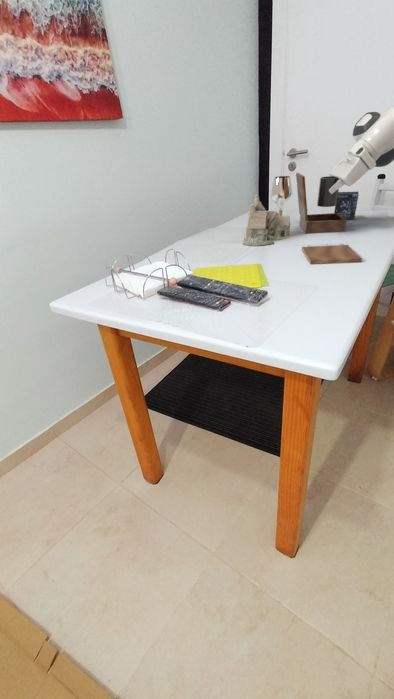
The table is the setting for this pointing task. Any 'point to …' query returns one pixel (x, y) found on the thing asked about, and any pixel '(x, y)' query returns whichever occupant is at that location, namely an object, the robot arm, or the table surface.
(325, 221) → the bread box
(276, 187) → the wineglass
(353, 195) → the box
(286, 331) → the table surface
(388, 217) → the table surface
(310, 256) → the board
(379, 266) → the table surface
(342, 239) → the table surface
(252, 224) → the ceramic cottage
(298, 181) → the bread box lid
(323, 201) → the dark grey cup
